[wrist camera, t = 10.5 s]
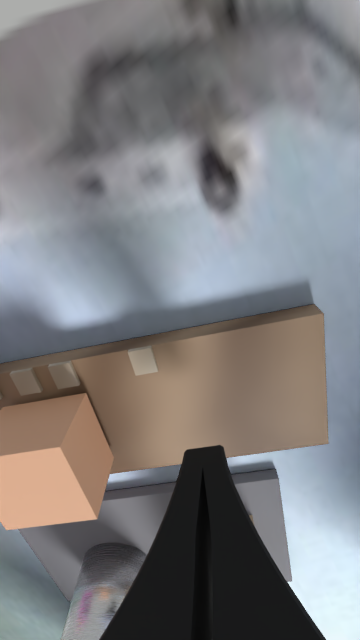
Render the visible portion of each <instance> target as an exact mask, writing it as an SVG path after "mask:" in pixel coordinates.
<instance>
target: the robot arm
mask: <svg viewBox="0 0 360 640" xmlns="http://www.w3.org/2000/svg"><path fill="white" fill-rule="evenodd" d="M99 640H326V639H325V637H324V636H323V635H322V633H321V632H320V630H319V629H318V627H317V626H316V625H315V623H314V622H313V620H312V619H311V617H310V616H309V614H308V613H307V611H306V610H305V608H304V607H303V605H302V604H301V602H300V601H299V599H298V598H297V596H296V595H295V593H294V592H293V590H292V589H291V587H290V586H289V584H288V583H287V581H286V580H285V578H284V576H283V575H282V573H281V572H280V570H279V568H278V567H277V565H276V563H275V562H274V560H273V558H272V557H271V555H270V553H269V552H268V550H267V548H266V546H265V545H264V543H263V541H262V539H261V537H260V536H259V534H258V532H257V530H256V528H255V526H254V524H253V522H252V521H251V519H250V517H249V515H248V513H247V511H246V509H245V506H244V504H243V502H242V500H241V498H240V496H239V493H238V491H237V489H236V487H235V484H234V482H233V479H232V476H231V474H230V471H229V468H228V464H227V460H226V455H225V451H224V447H223V446H221V445H216V446H209V447H202V448H194V449H187V450H186V451H185V452H184V456H183V460H182V464H181V468H180V472H179V475H178V478H177V481H176V485H175V488H174V490H173V493H172V496H171V499H170V502H169V505H168V507H167V510H166V513H165V515H164V517H163V520H162V522H161V525H160V527H159V529H158V532H157V534H156V537H155V539H154V541H153V543H152V545H151V548H150V550H149V552H148V554H147V556H146V558H145V560H144V562H143V564H142V566H141V568H140V570H139V572H138V574H137V576H136V578H135V579H134V581H133V583H132V585H131V587H130V589H129V591H128V592H127V594H126V596H125V598H124V600H123V601H122V603H121V605H120V607H119V608H118V610H117V612H116V613H115V615H114V617H113V618H112V620H111V621H110V623H109V625H108V626H107V628H106V629H105V631H104V633H103V634H102V636H101V637H100V639H99Z"/></svg>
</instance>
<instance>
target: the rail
mask: <svg viewBox="0 0 360 640" xmlns="http://www.w3.org/2000/svg"><path fill="white" fill-rule="evenodd" d="M82 393H86V394H87V396H88V399H89V401H90V403H91V406H92V408H93V410H94V413H95V415H96V417H97V420H98V422H99V424H100V427H101V429H102V431H103V434H104V436H105V438H106V441H107V443H108V445H109V448H110V450H111V452H112V455H113V457H114V459H113V463H112V467H111V470H110V474H113V473H120V472H128V471H135V470H142V469H149V468H157V467H164V466H171V465H178V464H182V460H183V456H184V452H185V451H186V450H187V449H194V448H202V447H209V446H216V445H221V446H223V447H224V451H225V455H226V458H229V457H236V456H243V455H250V454H258V453H265V452H272V451H279V450H287V449H294V448H301V447H308V446H315V445H323V444H328V418H327V391H326V364H325V337H324V313H323V312H322V311H321V310H320V309H319V308H318V307H317V306H316V305H315V304H312V305H307V306H301V307H296V308H291V309H286V310H280V311H275V312H270V313H265V314H259V315H254V316H249V317H244V318H238V319H233V320H228V321H222V322H217V323H212V324H207V325H201V326H196V327H191V328H186V329H180V330H175V331H170V332H165V333H159V334H154V335H149V336H143V337H138V338H133V339H128V340H122V341H117V342H112V343H107V344H101V345H96V346H91V347H86V348H80V349H75V350H70V351H64V352H59V353H54V354H49V355H43V356H38V357H33V358H28V359H22V360H17V361H12V362H7V363H1V364H0V410H1V409H2V408H3V407H7V406H13V405H18V404H24V403H30V402H36V401H42V400H48V399H53V398H59V397H65V396H71V395H77V394H82Z"/></svg>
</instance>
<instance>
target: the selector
mask: <svg viewBox="0 0 360 640" xmlns="http://www.w3.org/2000/svg"><path fill="white" fill-rule="evenodd" d="M113 459H114V457H113V455H112V452H111V450H110V448H109V445H108V443H107V441H106V438H105V436H104V434H103V431H102V429H101V427H100V424H99V422H98V420H97V417H96V415H95V413H94V410H93V408H92V406H91V403H90V401H89V399H88V396H87V394H86V393H82V394H77V395H71V396H65V397H59V398H53V399H48V400H42V401H36V402H30V403H24V404H18V405H13V406H7V407H3V408H2V409H1V410H0V522H1V523H2V525H3V526H4V527H5V529H6V530H12V529H21V528H29V527H37V526H45V525H54V524H62V523H70V522H78V521H87V520H95V519H98V515H99V511H100V507H101V504H102V500H103V496H104V493H105V489H106V485H107V481H108V478H109V474H110V470H111V467H112V463H113Z"/></svg>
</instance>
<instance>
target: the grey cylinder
mask: <svg viewBox="0 0 360 640" xmlns="http://www.w3.org/2000/svg"><path fill="white" fill-rule="evenodd" d="M146 556H147V555H146V554H145V553H144V552H142V551H141V550H140V549H138V548H136V547H134V546H131V545H128V544H123V543H114V542H110V543H102V544H98V545H95V546H93V547H91V548H90V549H89V550H88V551H87V552H86V553H85V555H84V558H83V561H82V565H81V569H80V572H79V576H78V579H77V583H76V586H75V590H74V594H73V597H72V601H71V604H70V608H69V612H68V615H67V619H66V622H65V626H64V630H63V633H62V637H61V640H99V639H100V637H101V636H102V634H103V633H104V631H105V629H106V628H107V626H108V625H109V623H110V621H111V620H112V618H113V617H114V615H115V613H116V612H117V610H118V608H119V607H120V605H121V603H122V601H123V600H124V598H125V596H126V594H127V592H128V591H129V589H130V587H131V585H132V583H133V581H134V579H135V578H136V576H137V574H138V572H139V570H140V568H141V566H142V564H143V562H144V560H145V558H146Z"/></svg>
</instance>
